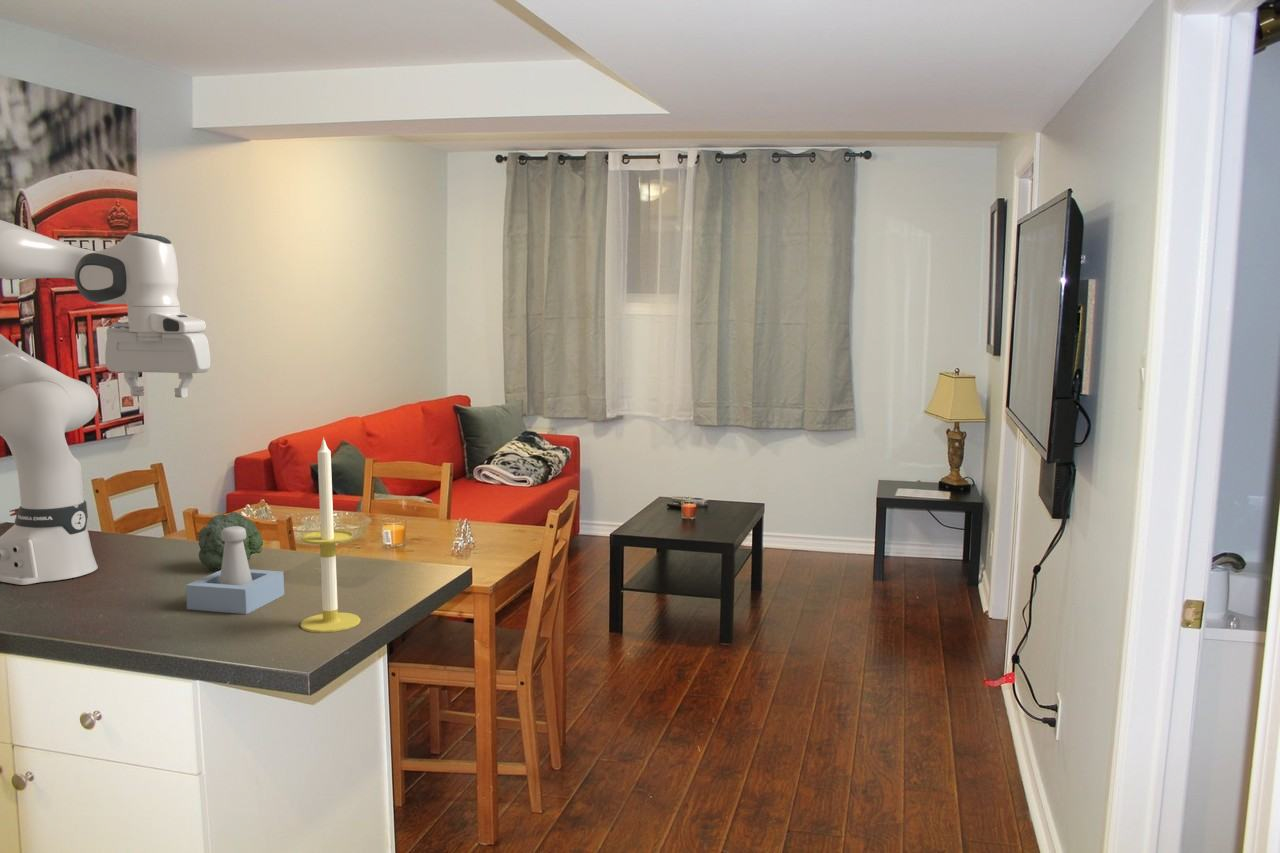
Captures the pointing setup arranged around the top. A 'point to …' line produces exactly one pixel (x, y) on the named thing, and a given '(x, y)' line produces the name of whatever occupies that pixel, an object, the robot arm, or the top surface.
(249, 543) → the vegetable
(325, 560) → the candle
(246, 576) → the salt shaker
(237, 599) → the container
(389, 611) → the top surface
